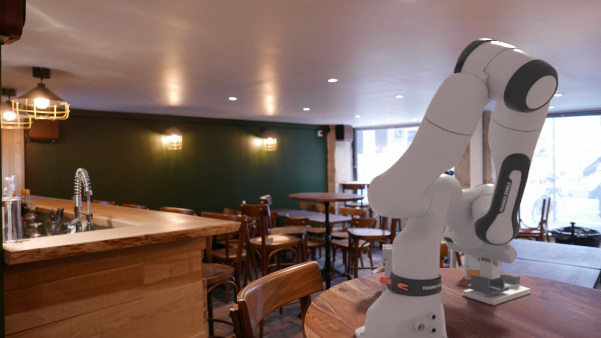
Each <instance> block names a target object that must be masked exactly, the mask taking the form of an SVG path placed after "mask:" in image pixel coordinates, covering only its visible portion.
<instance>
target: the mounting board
mask: <svg viewBox="0 0 601 338" xmlns="http://www.w3.org/2000/svg"><path fill="white" fill-rule="evenodd" d="M462 292H463V294H462V296H464V297H467V298H470V299H473V300H476V301H480V302H482V303H485V304H489V305H491V304H492V305H491V306H497V305H500V304H501V303H505V302H508V301H511V300H514V299H517V298H520V297H523V296H526V295H529V294H531V288H529V287H526V286H522V285H520V286H518V287H514V288H511V289H509V290H508V291H504V292H501V293H498V294H495V295H488V296H485V297H482V296H479V295H476V294H473V290H472V289H468V288H467V289H464V290H462Z"/></svg>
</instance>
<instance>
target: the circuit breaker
mask: <svg viewBox="0 0 601 338" xmlns="http://www.w3.org/2000/svg"><path fill="white" fill-rule="evenodd" d="M392 244H393V243H392ZM392 244H391V243H390V244H389V243H386V244H384V243H383V244H382V247H381V248H382V249H381V264H384V275H383V274H382V275H383V276H386V277H390V273H391V271H392ZM386 289H387V285H385V284H381V295H382V294H383V292H384V291H385V290H386Z"/></svg>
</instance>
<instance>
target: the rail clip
mask: <svg viewBox="0 0 601 338" xmlns="http://www.w3.org/2000/svg"><path fill="white" fill-rule="evenodd" d="M520 278H521V276H520V275H516V274H512V273H508V272H504V273H500V277H499V278H495V279H489V278H486V277H482V276H478V275H474V274H471V280H470V283H469V284H466V288H467V290H468V289H472V290H473V294H476V295H479V296H482V297H485V296H488V295H495V294H498V293H501V292H504V291H508V290H509V289H511V288H514V287H518V286H521V281H520V280H521V279H520Z"/></svg>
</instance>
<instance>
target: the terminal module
mask: <svg viewBox="0 0 601 338" xmlns="http://www.w3.org/2000/svg"><path fill="white" fill-rule="evenodd" d="M493 261H494V260H492V259H487V258H483V257H480V276H482V277H486V278H489V279H495V278H499V277H500V274H501V266H500V267H498V266H495V265H494V264H493Z"/></svg>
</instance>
